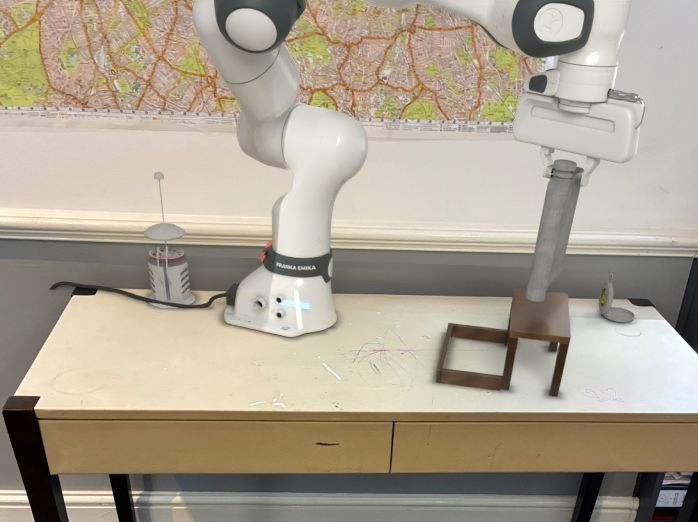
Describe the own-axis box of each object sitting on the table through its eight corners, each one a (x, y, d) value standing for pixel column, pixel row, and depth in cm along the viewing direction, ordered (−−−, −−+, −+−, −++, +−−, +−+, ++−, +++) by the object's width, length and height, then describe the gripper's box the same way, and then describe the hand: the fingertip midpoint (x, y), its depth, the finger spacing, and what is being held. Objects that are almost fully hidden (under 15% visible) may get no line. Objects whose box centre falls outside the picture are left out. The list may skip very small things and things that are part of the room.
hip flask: (542, 303, 129) (569, 177, 116) (518, 298, 130) (542, 172, 117) (563, 270, 141) (589, 152, 128) (540, 265, 142) (565, 147, 129)
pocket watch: (640, 320, 166) (652, 274, 160) (613, 328, 162) (625, 281, 156) (610, 306, 171) (621, 261, 165) (584, 313, 167) (594, 267, 161)
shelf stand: (435, 382, 139) (442, 323, 132) (447, 334, 155) (453, 279, 149) (557, 398, 136) (570, 338, 130) (556, 347, 153) (567, 292, 146)
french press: (198, 290, 167) (187, 166, 152) (192, 312, 158) (180, 182, 143) (151, 289, 166) (135, 164, 151) (142, 311, 157) (125, 180, 142)
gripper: (657, 93, 114) (633, 192, 122) (536, 72, 124) (521, 165, 132) (639, 97, 110) (615, 199, 118) (515, 76, 120) (501, 171, 128)
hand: (564, 181), depth 125 cm, fingers closed on hip flask, 4 cm apart
